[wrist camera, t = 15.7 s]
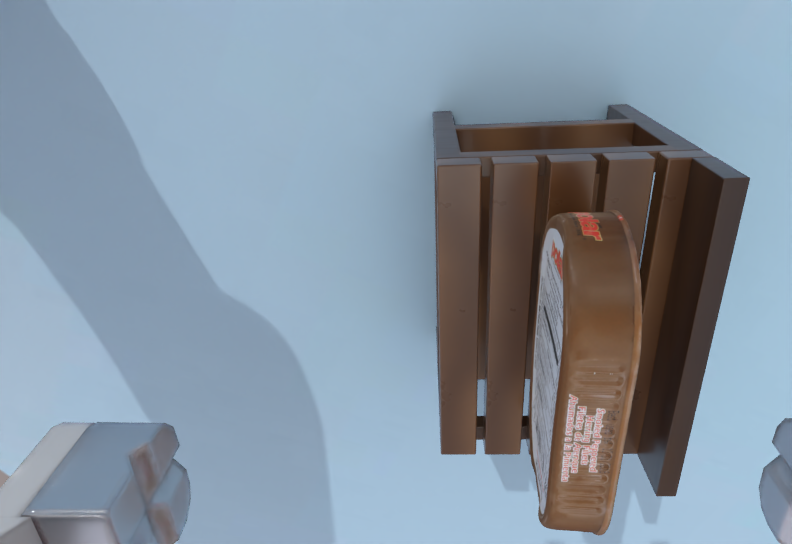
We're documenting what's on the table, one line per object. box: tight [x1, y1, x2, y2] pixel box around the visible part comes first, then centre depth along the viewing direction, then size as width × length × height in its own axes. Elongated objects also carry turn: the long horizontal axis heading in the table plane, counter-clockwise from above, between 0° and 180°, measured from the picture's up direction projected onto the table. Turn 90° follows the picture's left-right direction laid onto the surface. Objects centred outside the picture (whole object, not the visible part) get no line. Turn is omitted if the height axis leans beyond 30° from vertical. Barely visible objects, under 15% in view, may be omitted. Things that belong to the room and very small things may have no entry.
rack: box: [433, 104, 750, 496], centre depth 33 cm, size 12×17×15 cm
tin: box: [529, 210, 642, 535], centre depth 25 cm, size 15×3×8 cm, turn 2°
